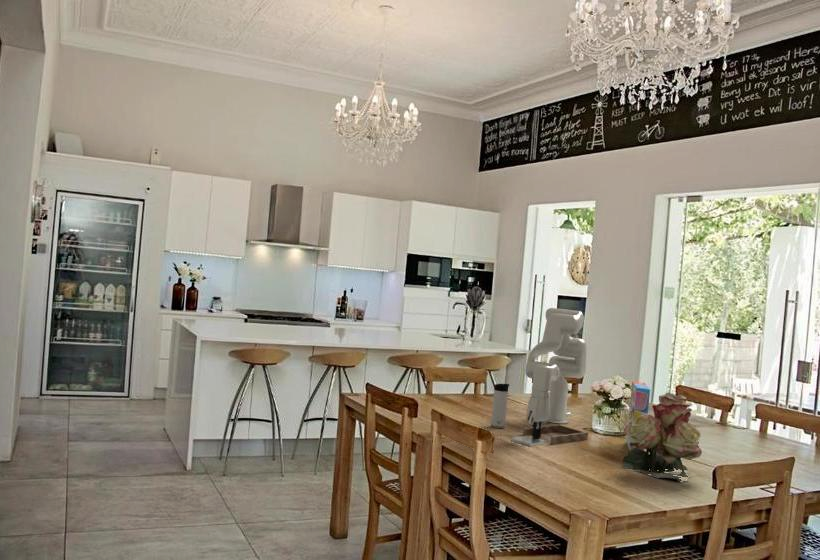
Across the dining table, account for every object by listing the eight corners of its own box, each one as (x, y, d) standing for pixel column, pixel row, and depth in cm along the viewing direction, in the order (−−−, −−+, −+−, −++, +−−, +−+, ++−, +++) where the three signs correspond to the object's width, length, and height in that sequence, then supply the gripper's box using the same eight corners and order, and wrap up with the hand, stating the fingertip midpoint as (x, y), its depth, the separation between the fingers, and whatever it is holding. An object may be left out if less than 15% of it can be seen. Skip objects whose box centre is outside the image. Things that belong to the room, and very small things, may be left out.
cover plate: (527, 440, 316) (527, 435, 316) (546, 445, 309) (547, 440, 309) (510, 443, 307) (510, 438, 307) (529, 448, 300) (530, 444, 300)
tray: (557, 432, 335) (558, 424, 334) (587, 440, 322) (588, 432, 322) (522, 436, 319) (523, 428, 319) (552, 445, 307) (553, 437, 307)
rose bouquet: (613, 468, 279) (621, 389, 278) (649, 459, 300) (657, 385, 299) (678, 487, 261) (687, 402, 260) (713, 476, 282) (721, 397, 281)
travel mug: (500, 429, 329) (505, 384, 329) (488, 426, 333) (492, 382, 333) (507, 428, 334) (512, 383, 334) (495, 425, 338) (499, 381, 338)
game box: (643, 455, 306) (650, 389, 305) (630, 453, 307) (636, 387, 306) (638, 444, 326) (644, 382, 325) (625, 442, 327) (631, 381, 326)
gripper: (544, 391, 319) (540, 434, 320) (521, 393, 310) (517, 437, 310) (558, 395, 314) (554, 438, 314) (536, 396, 304) (531, 441, 304)
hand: (536, 437), depth 312 cm, fingers closed
